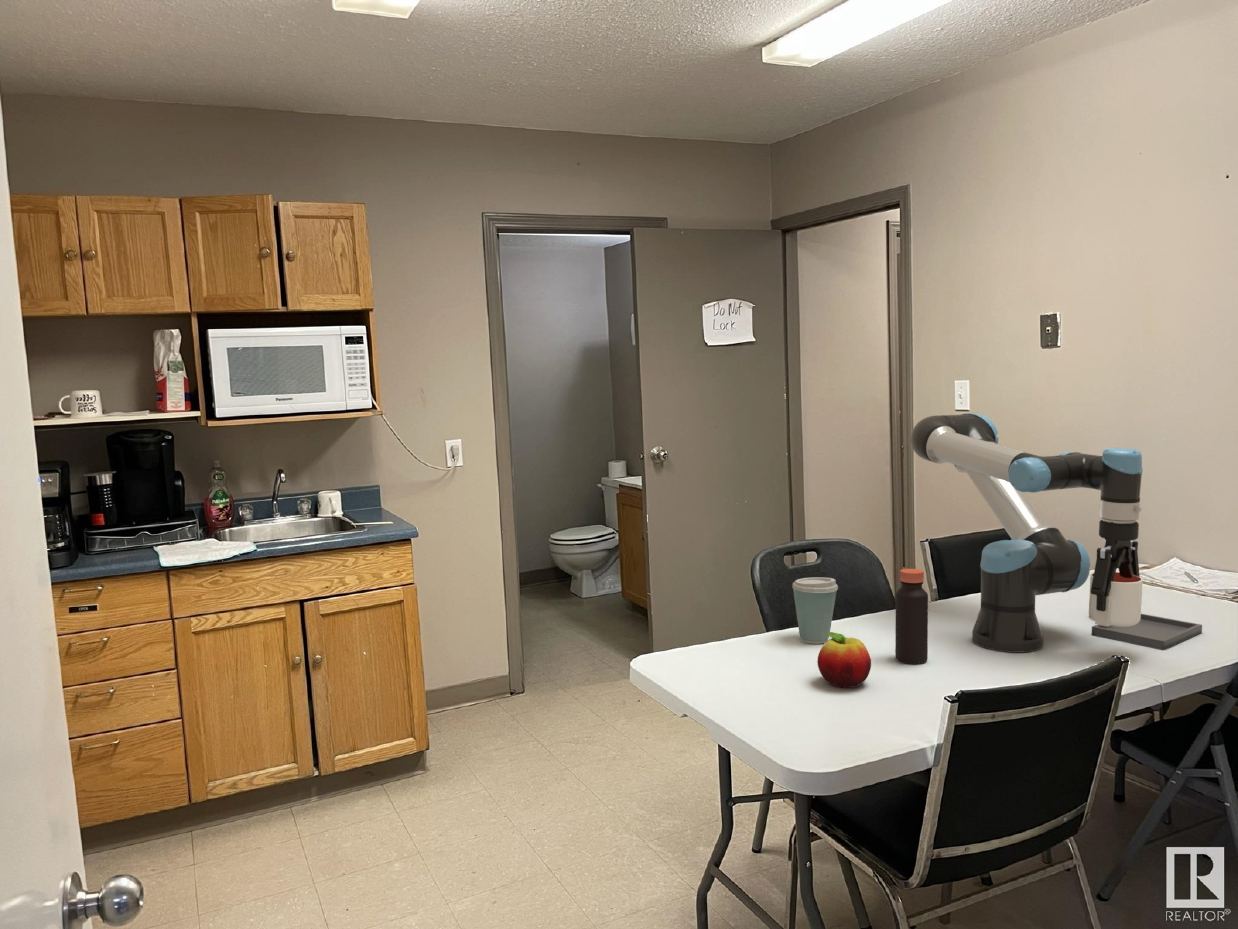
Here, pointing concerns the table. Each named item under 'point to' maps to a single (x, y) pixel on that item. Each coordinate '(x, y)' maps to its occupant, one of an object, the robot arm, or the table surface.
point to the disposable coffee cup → (814, 607)
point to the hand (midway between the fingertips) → (1114, 620)
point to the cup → (1121, 601)
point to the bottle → (911, 618)
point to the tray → (1151, 632)
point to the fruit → (844, 661)
